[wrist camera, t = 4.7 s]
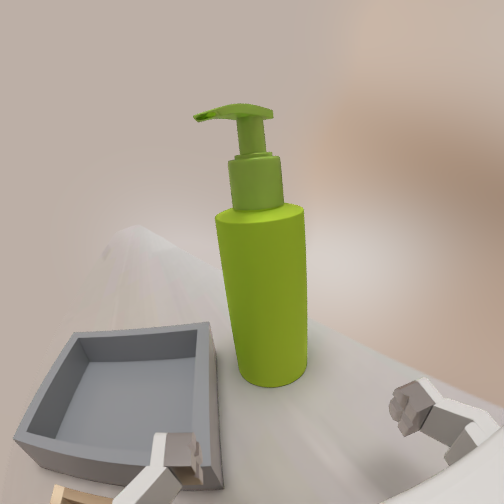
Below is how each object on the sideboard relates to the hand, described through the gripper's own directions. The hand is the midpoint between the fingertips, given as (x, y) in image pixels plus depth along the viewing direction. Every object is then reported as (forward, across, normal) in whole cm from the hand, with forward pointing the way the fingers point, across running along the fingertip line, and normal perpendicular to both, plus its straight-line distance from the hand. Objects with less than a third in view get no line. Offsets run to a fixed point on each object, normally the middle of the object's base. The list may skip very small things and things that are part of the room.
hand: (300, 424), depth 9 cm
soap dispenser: (+12, 0, -8) cm, 14 cm away
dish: (+8, -11, -7) cm, 15 cm away
